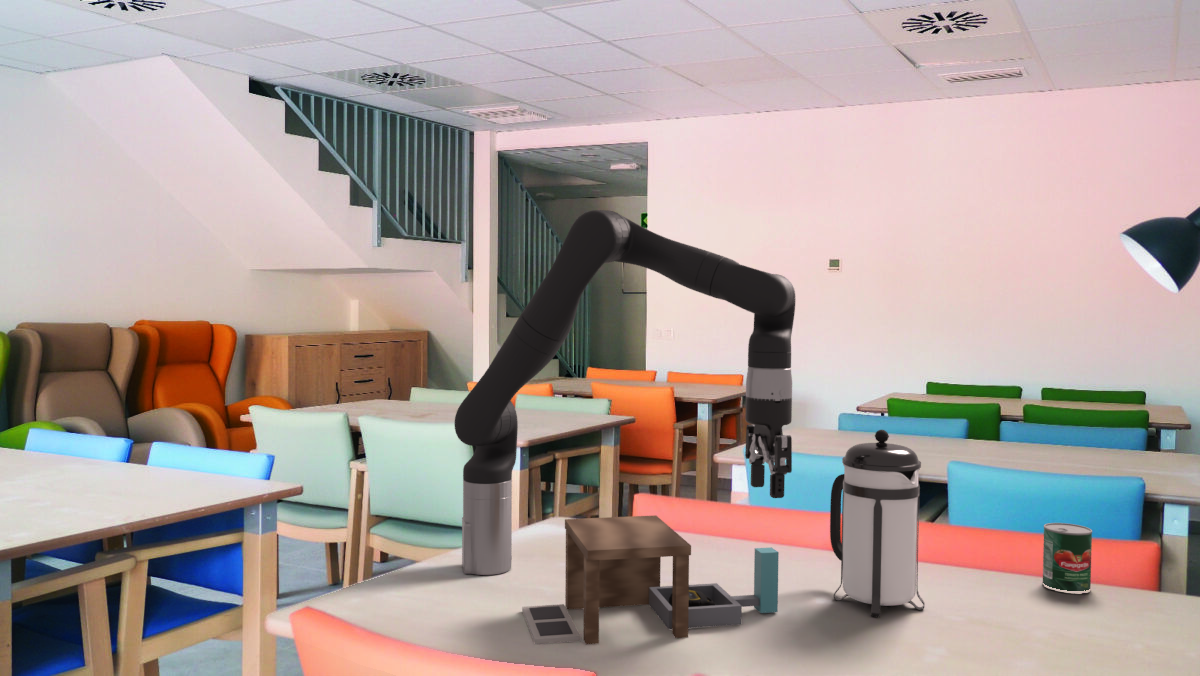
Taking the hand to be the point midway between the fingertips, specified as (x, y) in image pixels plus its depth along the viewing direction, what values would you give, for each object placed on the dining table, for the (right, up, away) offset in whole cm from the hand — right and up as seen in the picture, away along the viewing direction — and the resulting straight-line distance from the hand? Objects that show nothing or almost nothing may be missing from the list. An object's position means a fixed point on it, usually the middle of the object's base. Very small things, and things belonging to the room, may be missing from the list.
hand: (766, 492), depth 155 cm
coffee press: (+19, -20, +6) cm, 28 cm away
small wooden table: (-24, -20, -4) cm, 31 cm away
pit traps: (-36, -20, -7) cm, 41 cm away
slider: (-8, -20, -1) cm, 21 cm away
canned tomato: (+57, -20, +15) cm, 62 cm away
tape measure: (-12, -20, -1) cm, 24 cm away
